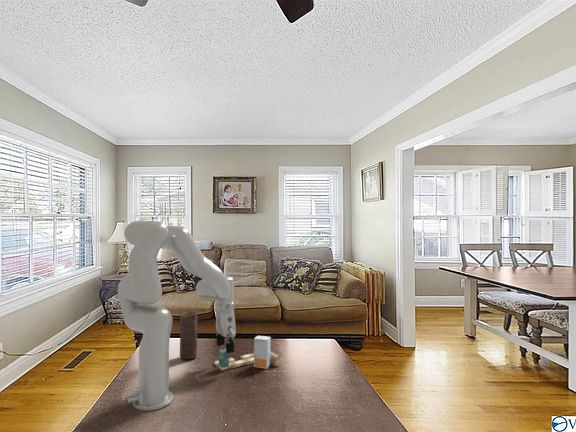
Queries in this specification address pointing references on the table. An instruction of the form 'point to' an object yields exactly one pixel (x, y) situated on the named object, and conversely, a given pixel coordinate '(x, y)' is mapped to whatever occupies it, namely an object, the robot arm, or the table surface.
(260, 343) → the skincare box
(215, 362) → the broken strip
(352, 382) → the table surface
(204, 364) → the table surface
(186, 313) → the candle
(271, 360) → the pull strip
